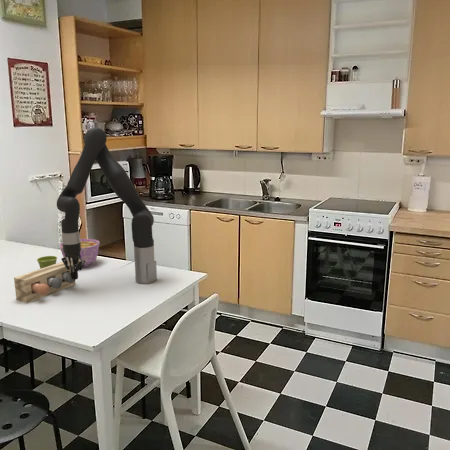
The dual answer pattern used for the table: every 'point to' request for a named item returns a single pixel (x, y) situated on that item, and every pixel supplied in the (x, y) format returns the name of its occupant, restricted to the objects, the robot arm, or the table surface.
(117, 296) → the table surface
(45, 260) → the plant pot
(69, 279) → the grey dowel
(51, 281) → the grey dowel
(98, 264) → the table surface
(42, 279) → the socket rail
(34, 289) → the dowel terracotta
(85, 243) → the bowl of food
